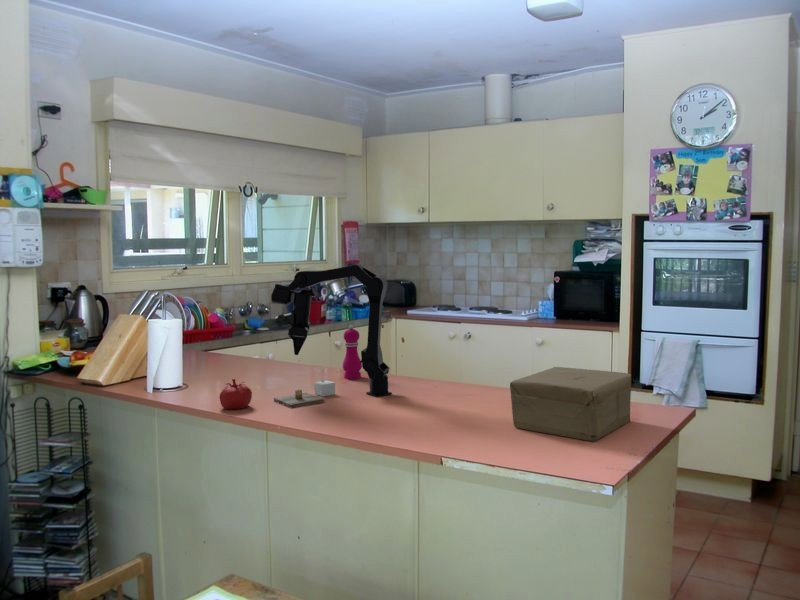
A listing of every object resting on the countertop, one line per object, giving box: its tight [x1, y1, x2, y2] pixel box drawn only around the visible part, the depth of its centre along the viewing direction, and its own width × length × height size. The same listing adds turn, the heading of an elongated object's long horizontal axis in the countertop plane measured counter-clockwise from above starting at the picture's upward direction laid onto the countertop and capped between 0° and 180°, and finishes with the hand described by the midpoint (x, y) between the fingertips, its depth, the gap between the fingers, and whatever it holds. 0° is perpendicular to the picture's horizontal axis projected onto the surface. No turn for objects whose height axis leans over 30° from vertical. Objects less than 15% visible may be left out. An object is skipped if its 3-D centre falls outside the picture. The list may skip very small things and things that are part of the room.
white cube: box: [314, 380, 336, 397], centre depth 240 cm, size 5×5×4 cm
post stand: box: [273, 389, 325, 408], centre depth 230 cm, size 12×12×4 cm
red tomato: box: [218, 378, 253, 410], centre depth 224 cm, size 10×10×9 cm
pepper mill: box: [342, 324, 363, 380], centre depth 267 cm, size 7×7×20 cm
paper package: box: [509, 366, 632, 442], centre depth 196 cm, size 27×26×14 cm
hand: (297, 352), depth 243 cm, fingers open, 9 cm apart
